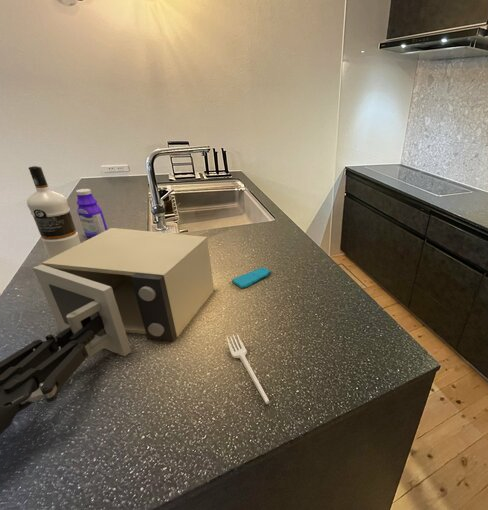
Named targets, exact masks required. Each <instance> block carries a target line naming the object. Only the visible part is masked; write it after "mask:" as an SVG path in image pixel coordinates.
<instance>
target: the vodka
mask: <svg viewBox="0 0 488 510" xmlns="http://www.w3.org/2000/svg"><path fill="white" fill-rule="evenodd" d="M28 170H29V174H30V176H31V178H32V181H33V185H34V186H35V190H36V191H35V192H34V193H32V194H31V195H30V196H29V197H28V198H27V200H26V206H27V208H28V209H29V211H30V215H31V216H32V217H33V219H34V221H35V222H34V223H35V225H36V227H37V230H38V232H39V235H40V240H41V241H42V243H43V246H44V248H45V251H46V255H47V260H49V259H51V258H53V257H55V256H56V255H58V254H60V253H62V252H64V251H66V250H68V249H70V248H72V247H74V246H76V245H78V244H80V243H82V242H81V240H80V237H79V232H78V231H77V229H76V225H75V223H74V219H73V217H72V214H71V209H70V207H69V203H68V199H67V198H66V197H65V196H64V195H63V194H62V193H60V192H59V193H58V192H56V191H53V190H50V188H49V185H48V182H47V179H46V176H45V173H44V171H43V167H41V166H40V165H38V166H37V165H33V166H28Z"/></svg>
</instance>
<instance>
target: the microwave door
mask: <svg viewBox="0 0 488 510" xmlns="http://www.w3.org/2000/svg"><path fill="white" fill-rule="evenodd" d="M32 270H33V272H34V274H35V276H36V279H37V281H38V283H39V285H40V288H41V290H42V292H43V295H44V297H45V299H46V301H47V305H48V306H49V308H50V310H51V313H52V316H53V318H54V320H55V322H56V324H57V327H58V329H59V332H62V331H63V330H65V329H67V328H69V327H71V330H72V332H73V335H74V334H75V333H77V332H78V331H79V330H80V329H82V328H83V326H82V324H81V321H82V320H83V319H85V318H87V317H89V316H90V318H91V321H92V320H93V319H94V318H95V317H97V316H101V318H102V321H103V324H104V328H103V329H102V330H101V331H99V332H98V333H97V334H96V335H95V338H94V339H93V340H92V341H91V342H89V343H88V344H87V345H86V346H85V348H86V350H87V353H88V357H87V358H86V359H88V358H91V357H93V356H94V355H96V354H97V353H99V352H100V351H101V350H103V349H105V350H108V351H110V352H112V353H114V354H117V355H119V356H122V357H127V356H128V355H130V354H131V353H132V348H131V345H130V342H129V338H128V335H127V332H125V329H124V326H123V322H122V319H121V316H120V313H119V310H118V306H117V303H116V300H115V297H114V293H113V290H112V287H110V286H107V285H104V284H101V283H98V282H95V281H92V280H88V279H85V278H82V277H79V276H76V275H73V274H70V273H67V272H64V271H61V270H57V269H54V268H51V267H48V266H45V265H42V263H41V264H39V265H36V266H33V267H32Z"/></svg>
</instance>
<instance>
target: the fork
mask: <svg viewBox="0 0 488 510" xmlns="http://www.w3.org/2000/svg"><path fill="white" fill-rule="evenodd" d="M235 335H236V336H235ZM232 337H233V338H232ZM236 338H237V339H236ZM226 340H227V345H228V349H229V353H230V355H231V357H232V358H233V359H239V360H240V361H241V363H242V364H243V366H244V368H245V369H246V372H247V373H248V375H249V377H250V379H251V380H252V382H253V384H254V387H256V390H257V391H258V392H259V395H260V396H261V398H262V400H263V402H264V404H265V405H269V404H270V403H271V402H270V400H269V397H268V396H267V394H266V392H265V391H264V389H263V387H262V385H261V383H260V381H259V379H258V378H257V376H256V374H255V372H254V370H253V368H252V366H251V364H250V362H249V360H248V358H247V357H246V355H247V353H248V350H247V348H246V347H245V345H244V343H243V341H242V340H241V338H240V336H239V334H238V333H237V332H236V333H235V334H232V335H229V336H226Z"/></svg>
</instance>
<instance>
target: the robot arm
mask: <svg viewBox="0 0 488 510" xmlns="http://www.w3.org/2000/svg"><path fill="white" fill-rule="evenodd" d="M81 324H82V326H83V328H82V329H80V330H79V331H78V332H77V333H75V334H74V335H73V332H72V330H71V327H69V328H67V329H65V330H63V331H60V332H59V333H57V334H56V335H55V336H54V335H53V334H48V335H45V336H44V338H45V340H42V339H36V340H33V341H31V343H29V344H27V345H26V346H24V347H22V348H21V349H19V350H17V351H15V352H14V353H11V354H10V355H9V356H8V357H6V358H4V359H2V360H1V361H0V436H1V435H2V434H3V433H5V431H6V430H8V428H9V427H10V426H11V425H12V423H13V421H14V419H15V418H16V415H17V414H19V412H21V411H23V410H25V409H27V408H28V407H30V406H31V405H32V404H33V402H37V401H40V400H46V402H47V403H51V402H53V401H55V400H56V399H57V398H58V395H59V393H60V390H61V389H62V387H63V386H64V385H65V384H66V382H68V381H69V379H70V378H71V376H72V375H74V373H75V372H76V371H77V370H78V369H79V367H81V365H82V364H83V362H84V361H85V360H86V359H88V358H87V357H88V353H87V350H86V348H85V346H86V345H87V344H88V343H89V342H91V341H92V340H93V339H94V338H95V335H96V334H97V333H98V332H99V331H101V330H102V329H103V328H104V324H103V321H102V318H101V316H97V317H95V318H94V319H93V320H92V321H91V318H90V316H89V317H87V318H85V319H83V320H82V321H81ZM89 344H90V343H89Z"/></svg>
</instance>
